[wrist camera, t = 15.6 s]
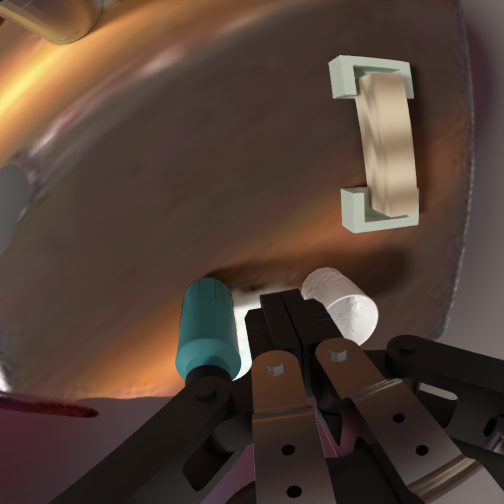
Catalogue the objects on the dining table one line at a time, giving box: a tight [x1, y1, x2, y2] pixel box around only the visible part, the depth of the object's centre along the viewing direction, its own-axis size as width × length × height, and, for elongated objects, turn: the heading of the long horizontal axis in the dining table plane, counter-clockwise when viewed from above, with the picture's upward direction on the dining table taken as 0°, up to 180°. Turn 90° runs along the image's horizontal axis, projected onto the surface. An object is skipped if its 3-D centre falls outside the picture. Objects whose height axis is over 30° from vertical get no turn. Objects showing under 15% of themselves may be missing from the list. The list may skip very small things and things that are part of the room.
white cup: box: [301, 267, 378, 345], centre depth 40 cm, size 8×8×10 cm
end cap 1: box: [329, 55, 414, 99], centre depth 33 cm, size 5×10×4 cm, turn 96°
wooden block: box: [355, 73, 418, 218], centre depth 34 cm, size 17×4×6 cm, turn 10°
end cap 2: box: [341, 187, 419, 233], centre depth 39 cm, size 5×10×4 cm, turn 96°
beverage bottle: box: [175, 278, 241, 386], centre depth 33 cm, size 6×7×20 cm
